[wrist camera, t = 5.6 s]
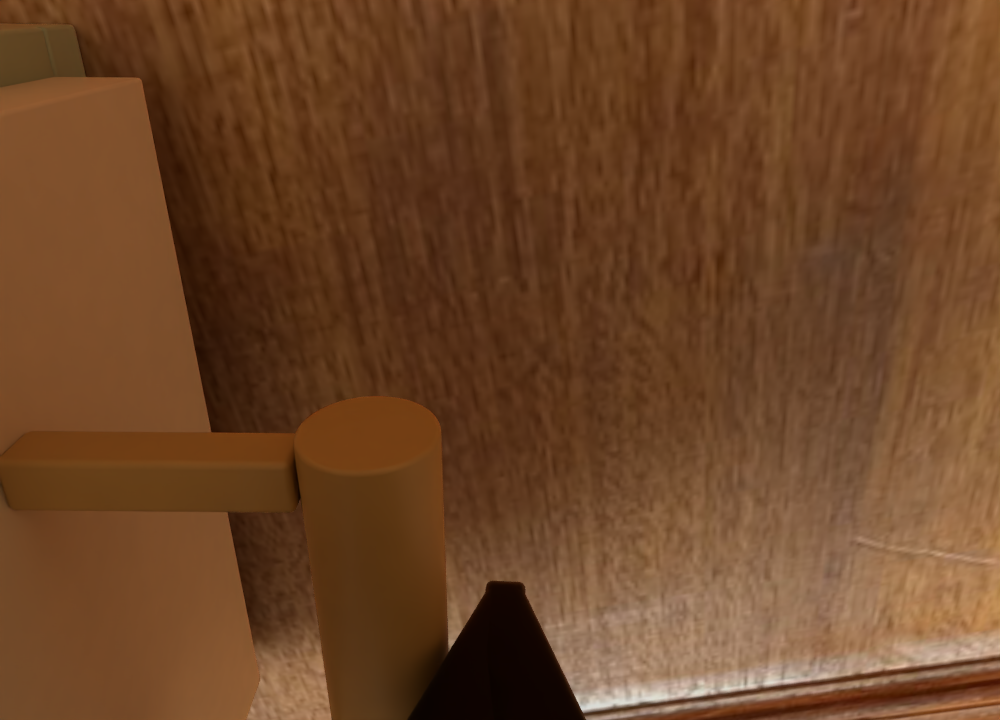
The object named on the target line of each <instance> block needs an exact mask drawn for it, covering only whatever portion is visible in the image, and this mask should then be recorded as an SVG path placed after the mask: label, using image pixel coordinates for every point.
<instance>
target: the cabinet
mask: <svg viewBox="0 0 1000 720" xmlns="http://www.w3.org/2000/svg"><path fill="white" fill-rule="evenodd" d="M51 77H86V75H85V70H84V66H83V62H82V57H81V53H80V49H79V44H78V40H77V35H76V31H75V28H74V26H72V25H70V24H21V23H0V87H5V86H10V85H15V84H20V83H25V82H30V81H35V80H40V79H46V78H51Z"/></svg>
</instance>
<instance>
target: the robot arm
mask: <svg viewBox="0 0 1000 720" xmlns="http://www.w3.org/2000/svg"><path fill="white" fill-rule="evenodd" d="M407 720H586V719H585V716H584V714H583V712H582V710H581V708H580V706H579V704H578V702H577V700H576V698H575V696H574V694H573V692H572V690H571V688H570V685H569V683H568V681H567V679H566V677H565V675H564V673H563V671H562V669H561V667H560V665H559V663H558V661H557V659H556V657H555V654H554V652H553V650H552V648H551V646H550V644H549V642H548V640H547V638H546V636H545V634H544V632H543V630H542V628H541V626H540V623H539V621H538V619H537V617H536V615H535V613H534V611H533V609H532V607H531V605H530V603H529V601H528V599H527V597H526V595H525V586H524V584H523V583H521V582H507V581H490V582H488V583H487V585H486V592H485V594H484V596H483V597H482V599H481V600H480V602H479V604H478V605H477V607H476V609H475V610H474V612H473V613H472V615H471V617H470V618H469V620H468V622H467V623H466V625H465V626H464V628H463V630H462V631H461V633H460V635H459V636H458V638H457V639H456V641H455V643H454V644H453V646H452V648H451V649H450V651H449V652H448V654H447V656H446V657H445V659H444V661H443V662H442V664H441V665H440V667H439V669H438V670H437V672H436V674H435V675H434V677H433V679H432V680H431V682H430V683H429V685H428V687H427V688H426V690H425V692H424V693H423V695H422V696H421V698H420V700H419V701H418V703H417V705H416V706H415V708H414V709H413V711H412V713H411V714H410V716H409V718H408V719H407Z"/></svg>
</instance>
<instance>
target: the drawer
mask: <svg viewBox="0 0 1000 720" xmlns="http://www.w3.org/2000/svg"><path fill="white" fill-rule="evenodd" d="M300 498H301V505H302V512H303V519H304V526H305V533H306V540H307V547H308V554H309V561H310V568H311V576H312V583H313V590H314V597H315V604H316V611H317V618H318V625H319V632H320V640H321V647H322V654H323V661H324V668H325V675H326V682H327V689H328V696H329V703H330V711H331V718H332V720H407V719H408V718H409V716H410V714H411V713H412V711H413V709H414V708H415V706H416V705H417V703H418V701H419V700H420V698H421V696H422V695H423V693H424V692H425V690H426V688H427V687H428V685H429V683H430V682H431V680H432V679H433V677H434V675H435V674H436V672H437V670H438V669H439V667H440V665H441V664H442V662H443V661H444V659H445V657H446V656H447V654H448V652H449V649H448V618H447V588H446V557H445V527H444V497H443V466H442V436H441V427H440V424H439V422H438V420H437V418H436V417H435V416H434V414H433V413H432V412H431V411H430V410H428V409H427V408H425V407H424V406H422V405H420V404H418V403H415V402H413V401H410V400H406V399H402V398H396V397H388V396H368V397H358V398H352V399H347V400H343V401H340V402H336V403H333V404H331V405H328V406H326V407H324V408H321V409H320V410H318V411H316V412H314V413H313V414H311V415H310V416H309V417H307V418H306V419H305V420H304V421H303V422H302V423H301V425H300V426H299V427H298V429H297V431H296V433H211V428H210V423H209V418H208V413H207V408H206V403H205V398H204V393H203V387H202V382H201V377H200V372H199V367H198V362H197V357H196V352H195V347H194V342H193V337H192V332H191V327H190V322H189V317H188V312H187V307H186V302H185V297H184V292H183V287H182V282H181V276H180V271H179V266H178V261H177V256H176V251H175V246H174V241H173V236H172V231H171V226H170V221H169V216H168V211H167V206H166V201H165V196H164V191H163V186H162V181H161V176H160V170H159V165H158V160H157V155H156V150H155V145H154V140H153V135H152V130H151V125H150V120H149V115H148V110H147V105H146V100H145V95H144V90H143V85H142V81H141V79H139V78H126V77H51V78H46V79H40V80H35V81H30V82H25V83H20V84H15V85H10V86H5V87H0V720H246V719H247V716H248V713H249V710H250V707H251V704H252V702H253V699H254V696H255V693H256V690H257V687H258V685H259V682H260V675H259V670H258V665H257V660H256V655H255V650H254V645H253V640H252V635H251V630H250V625H249V620H248V615H247V610H246V604H245V599H244V594H243V589H242V584H241V579H240V574H239V569H238V564H237V559H236V554H235V549H234V544H233V539H232V534H231V529H230V524H229V519H228V514H227V512H262V513H290V512H293V511H295V510H296V508H297V506H298V503H299V501H300Z"/></svg>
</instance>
